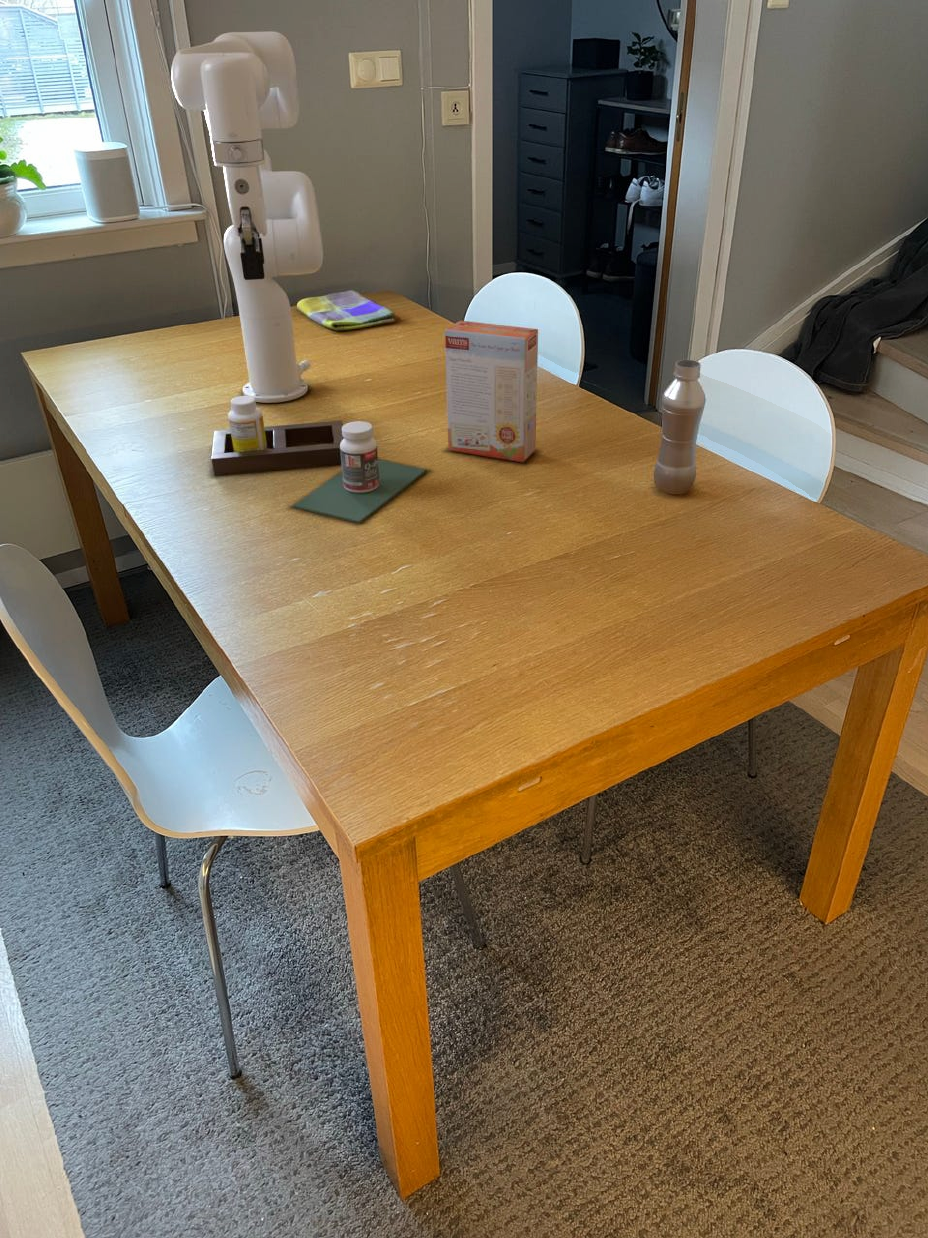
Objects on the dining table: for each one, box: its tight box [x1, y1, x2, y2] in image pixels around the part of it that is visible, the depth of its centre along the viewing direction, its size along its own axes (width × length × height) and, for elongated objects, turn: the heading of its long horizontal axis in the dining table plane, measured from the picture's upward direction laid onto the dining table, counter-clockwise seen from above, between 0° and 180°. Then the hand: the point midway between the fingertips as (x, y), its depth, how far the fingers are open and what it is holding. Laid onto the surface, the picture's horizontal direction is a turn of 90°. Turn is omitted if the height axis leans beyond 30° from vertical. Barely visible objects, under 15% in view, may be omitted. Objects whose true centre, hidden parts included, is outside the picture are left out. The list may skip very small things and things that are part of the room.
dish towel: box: [296, 289, 396, 331], centre depth 225 cm, size 18×24×3 cm
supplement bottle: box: [227, 395, 268, 452], centre depth 154 cm, size 6×6×10 cm
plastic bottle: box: [653, 359, 707, 495], centre depth 139 cm, size 6×7×20 cm
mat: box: [293, 458, 427, 524], centre depth 146 cm, size 20×12×1 cm, turn 152°
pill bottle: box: [340, 420, 379, 493], centre depth 144 cm, size 6×6×10 cm
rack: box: [211, 419, 344, 477], centre depth 157 cm, size 12×22×3 cm, turn 100°
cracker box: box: [444, 320, 539, 463], centre depth 152 cm, size 14×6×21 cm, turn 65°
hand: (254, 271), depth 149 cm, fingers open, 9 cm apart
